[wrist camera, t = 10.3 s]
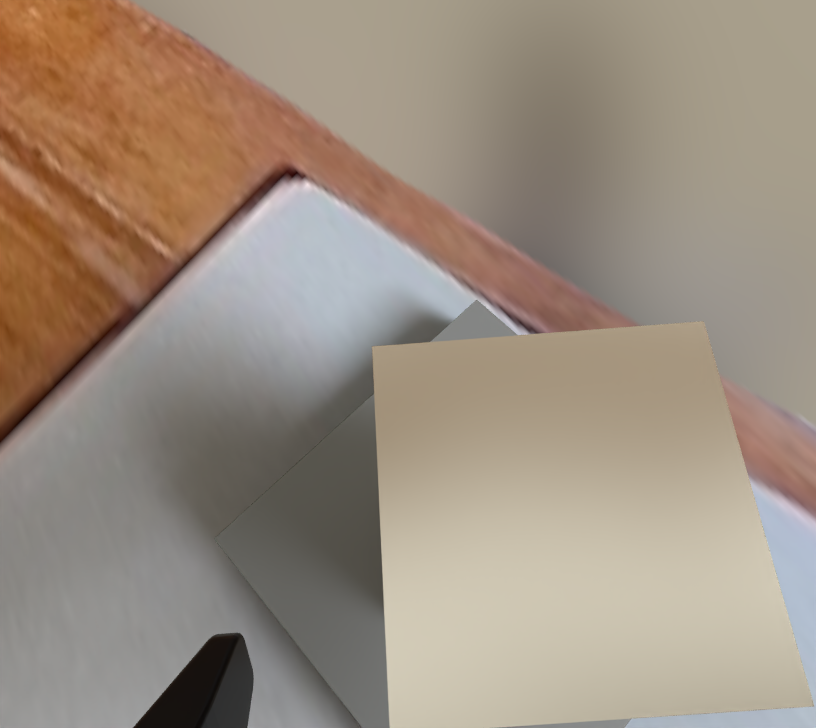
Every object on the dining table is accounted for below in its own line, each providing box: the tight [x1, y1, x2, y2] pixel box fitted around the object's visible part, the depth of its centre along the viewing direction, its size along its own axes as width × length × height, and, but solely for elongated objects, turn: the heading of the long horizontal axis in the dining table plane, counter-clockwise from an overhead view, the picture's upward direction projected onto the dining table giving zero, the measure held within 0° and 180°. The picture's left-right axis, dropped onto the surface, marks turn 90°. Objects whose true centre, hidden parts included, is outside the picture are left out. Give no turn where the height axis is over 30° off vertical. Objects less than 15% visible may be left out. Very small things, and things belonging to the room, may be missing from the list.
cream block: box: [372, 321, 814, 728], centre depth 12 cm, size 4×4×11 cm
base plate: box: [214, 300, 631, 728], centre depth 18 cm, size 12×12×2 cm
